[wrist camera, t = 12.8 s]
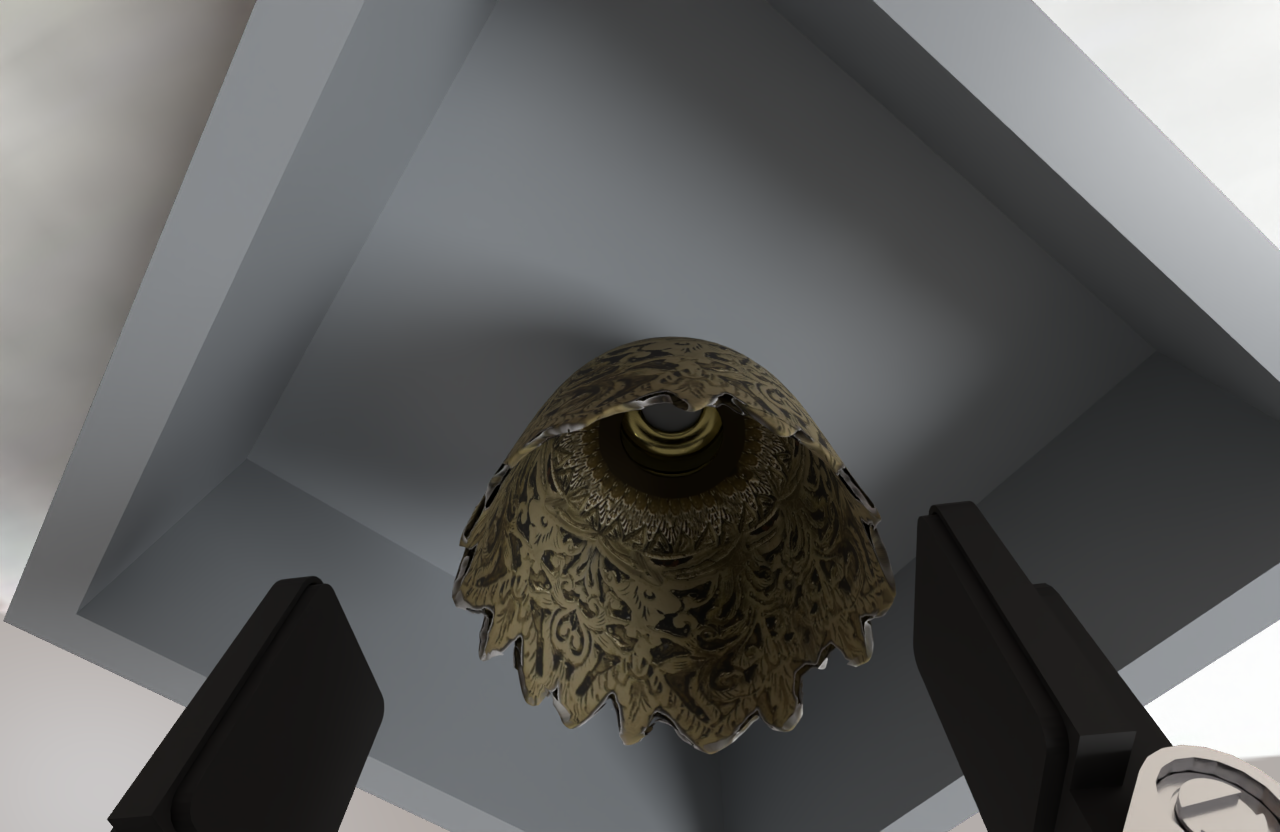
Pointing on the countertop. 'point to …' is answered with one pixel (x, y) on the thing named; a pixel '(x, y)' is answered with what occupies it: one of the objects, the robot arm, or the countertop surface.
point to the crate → (677, 307)
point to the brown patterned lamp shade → (674, 548)
